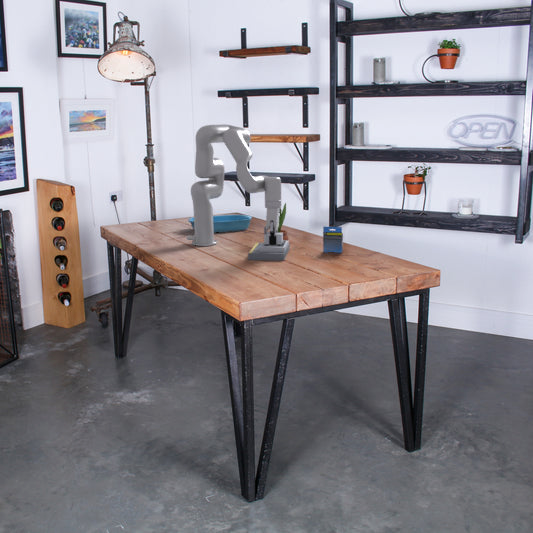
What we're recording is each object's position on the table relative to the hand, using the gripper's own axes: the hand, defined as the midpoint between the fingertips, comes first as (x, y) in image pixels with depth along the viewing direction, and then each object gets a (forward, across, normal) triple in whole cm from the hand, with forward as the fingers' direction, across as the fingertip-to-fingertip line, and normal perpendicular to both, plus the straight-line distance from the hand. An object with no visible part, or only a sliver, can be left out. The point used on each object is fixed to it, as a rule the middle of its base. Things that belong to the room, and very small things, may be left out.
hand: (273, 243), depth 296 cm
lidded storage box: (+1, 0, 0) cm, 1 cm away
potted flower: (+6, -28, -2) cm, 29 cm away
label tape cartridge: (+6, -7, +27) cm, 29 cm away
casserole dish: (+6, -62, -38) cm, 73 cm away
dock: (+5, 0, -2) cm, 6 cm away
